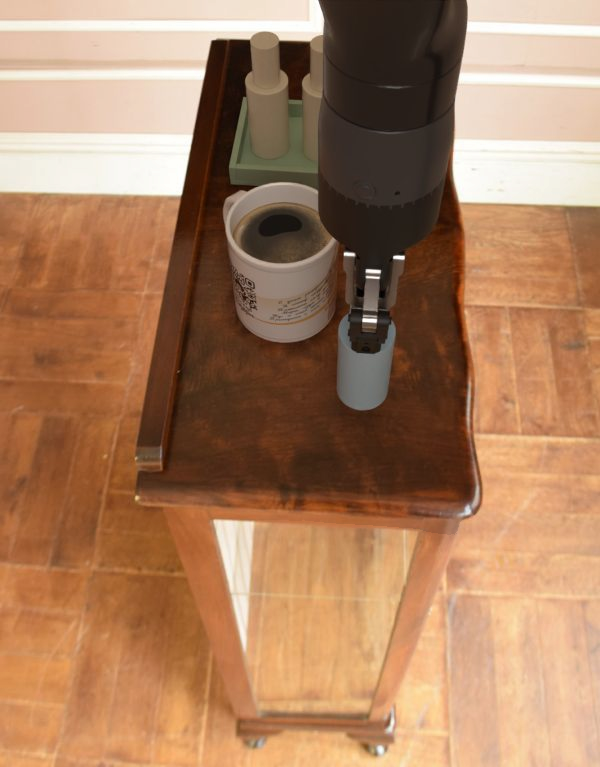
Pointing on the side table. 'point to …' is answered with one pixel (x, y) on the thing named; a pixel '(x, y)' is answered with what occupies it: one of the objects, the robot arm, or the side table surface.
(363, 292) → the robot arm
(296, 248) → the mug
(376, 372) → the blue bottle
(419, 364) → the side table surface
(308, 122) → the cream bottle
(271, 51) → the cream bottle
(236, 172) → the tray
